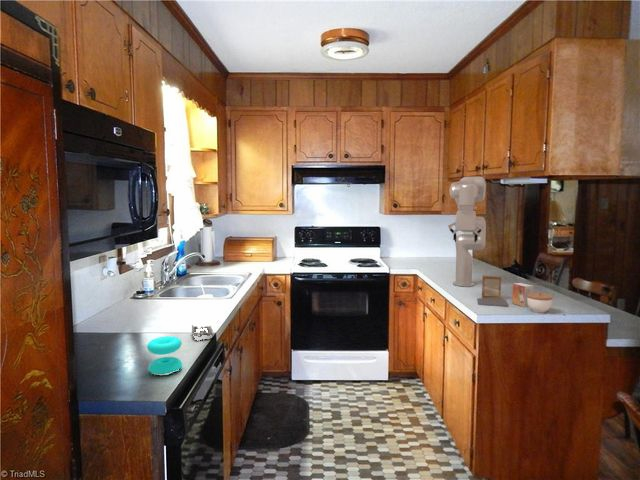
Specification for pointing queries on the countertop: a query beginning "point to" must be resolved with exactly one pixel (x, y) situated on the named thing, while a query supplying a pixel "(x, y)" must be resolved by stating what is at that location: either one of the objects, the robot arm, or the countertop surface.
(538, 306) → the lidded jar
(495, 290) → the slab
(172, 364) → the donuts
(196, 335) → the egg carton
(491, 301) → the mat
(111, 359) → the countertop surface
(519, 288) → the small box
